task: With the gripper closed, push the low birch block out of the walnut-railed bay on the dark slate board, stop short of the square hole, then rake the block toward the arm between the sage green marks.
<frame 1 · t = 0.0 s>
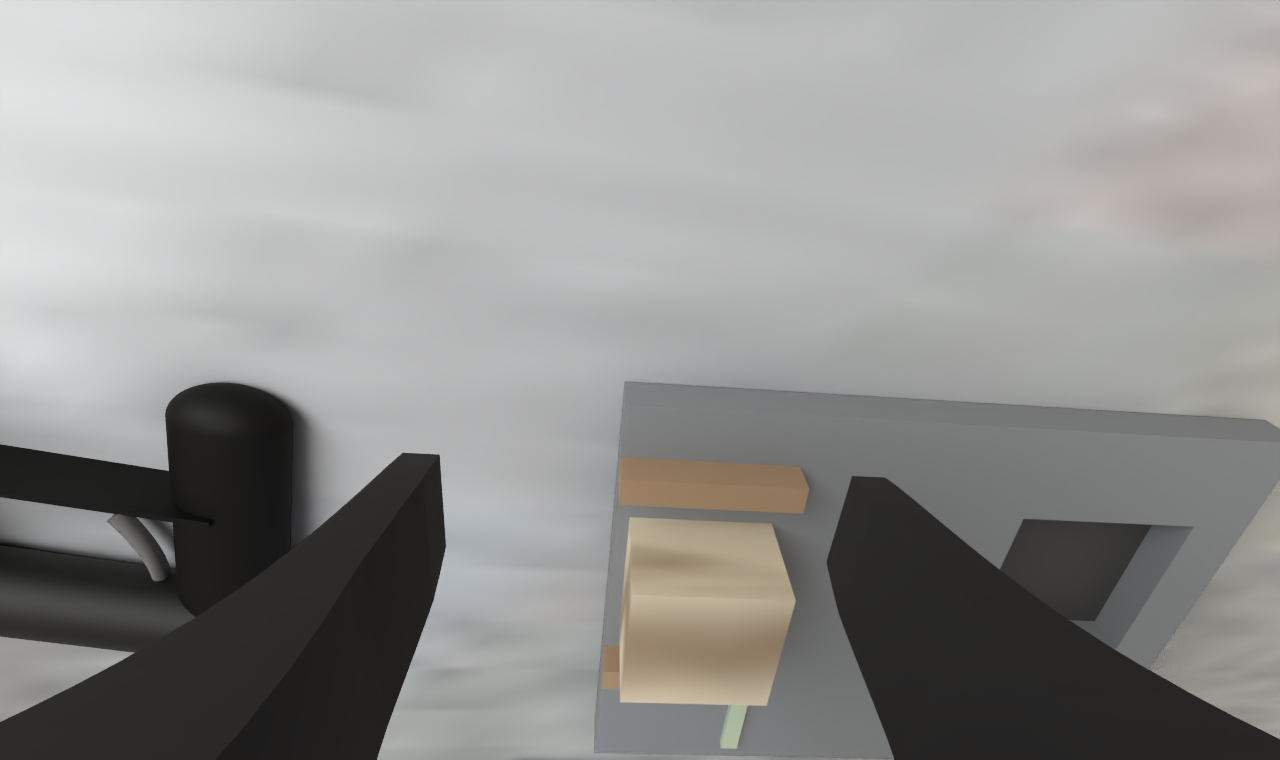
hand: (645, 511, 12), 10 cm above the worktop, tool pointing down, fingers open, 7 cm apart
birch block: (692, 573, 24), point 1 cm above the worktop, touching slate board
door handle: (13, 434, 23), on the worktop
slate board: (887, 590, 27), on the worktop
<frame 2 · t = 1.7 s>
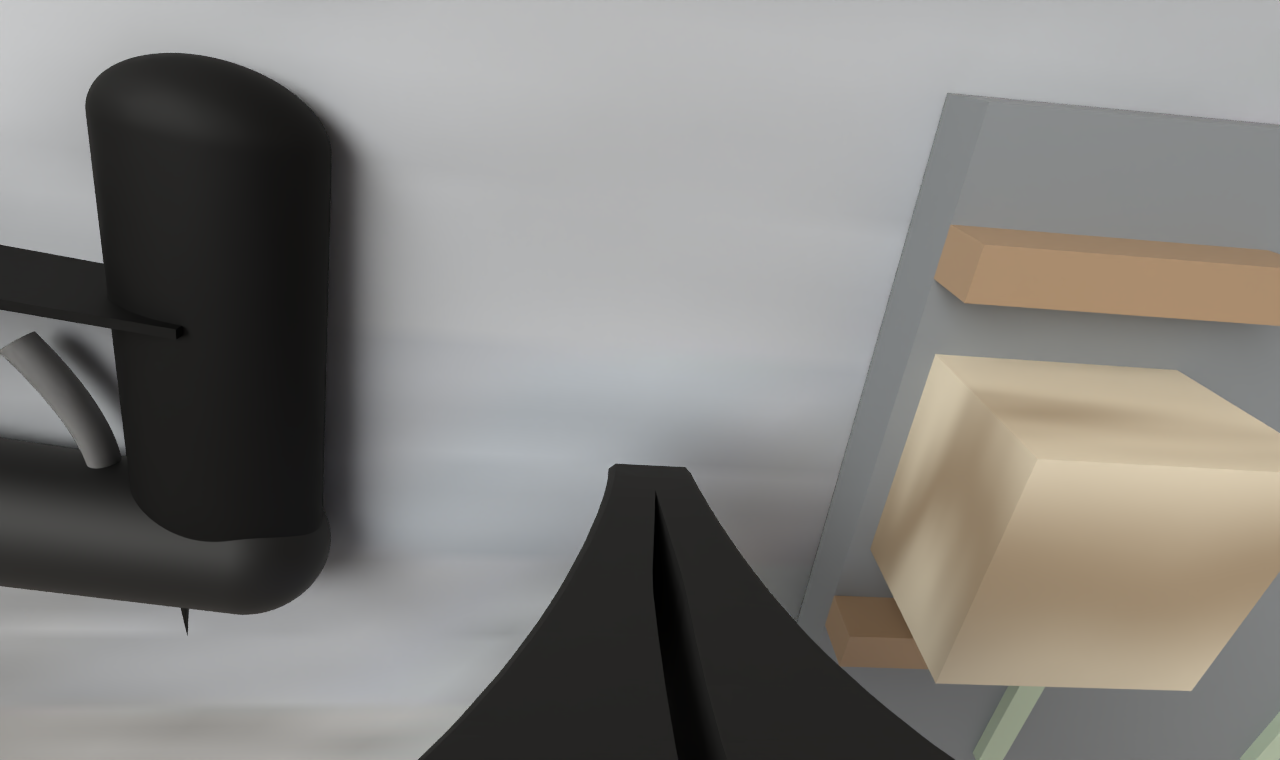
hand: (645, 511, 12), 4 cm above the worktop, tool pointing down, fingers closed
birch block: (1012, 465, 14), point 1 cm above the worktop, touching slate board
slate board: (1268, 511, 17), on the worktop
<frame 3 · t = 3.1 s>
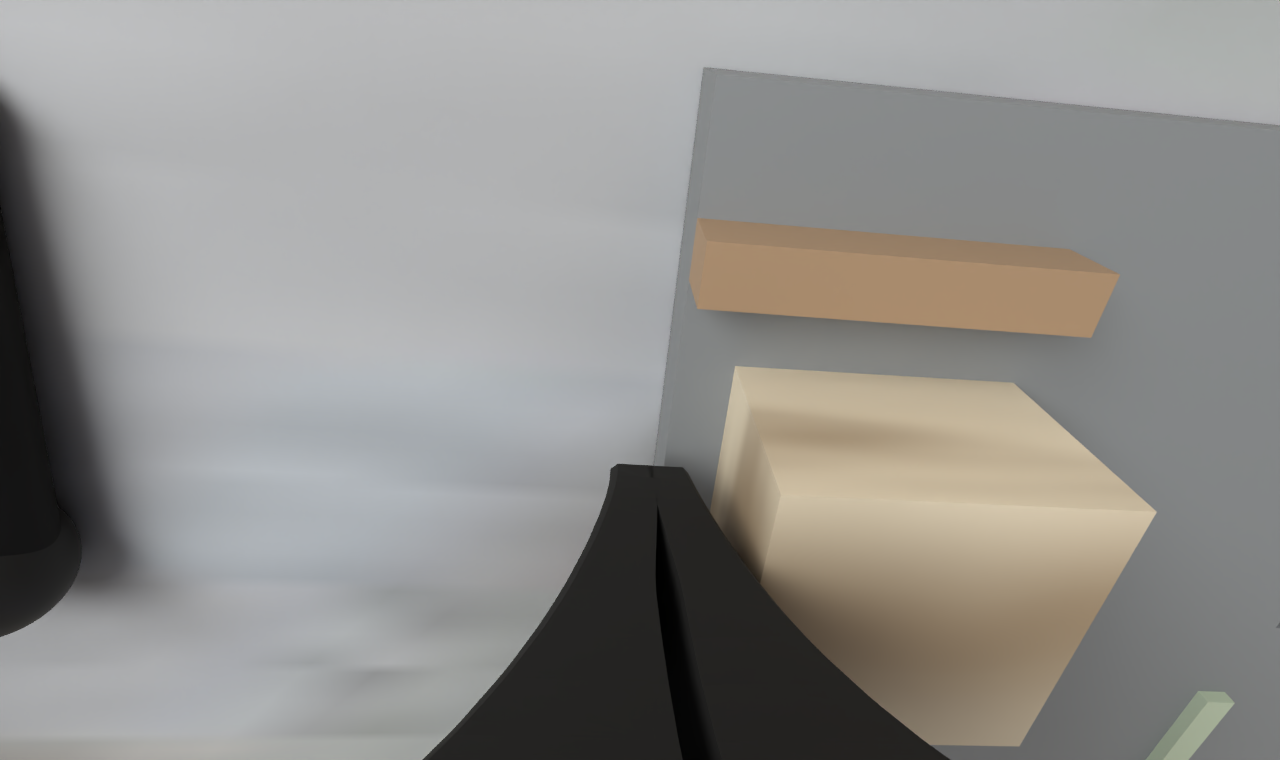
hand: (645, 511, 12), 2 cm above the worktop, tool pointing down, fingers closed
birch block: (843, 488, 13), point 2 cm above the worktop, touching gripper, slate board
slate board: (1131, 535, 16), on the worktop
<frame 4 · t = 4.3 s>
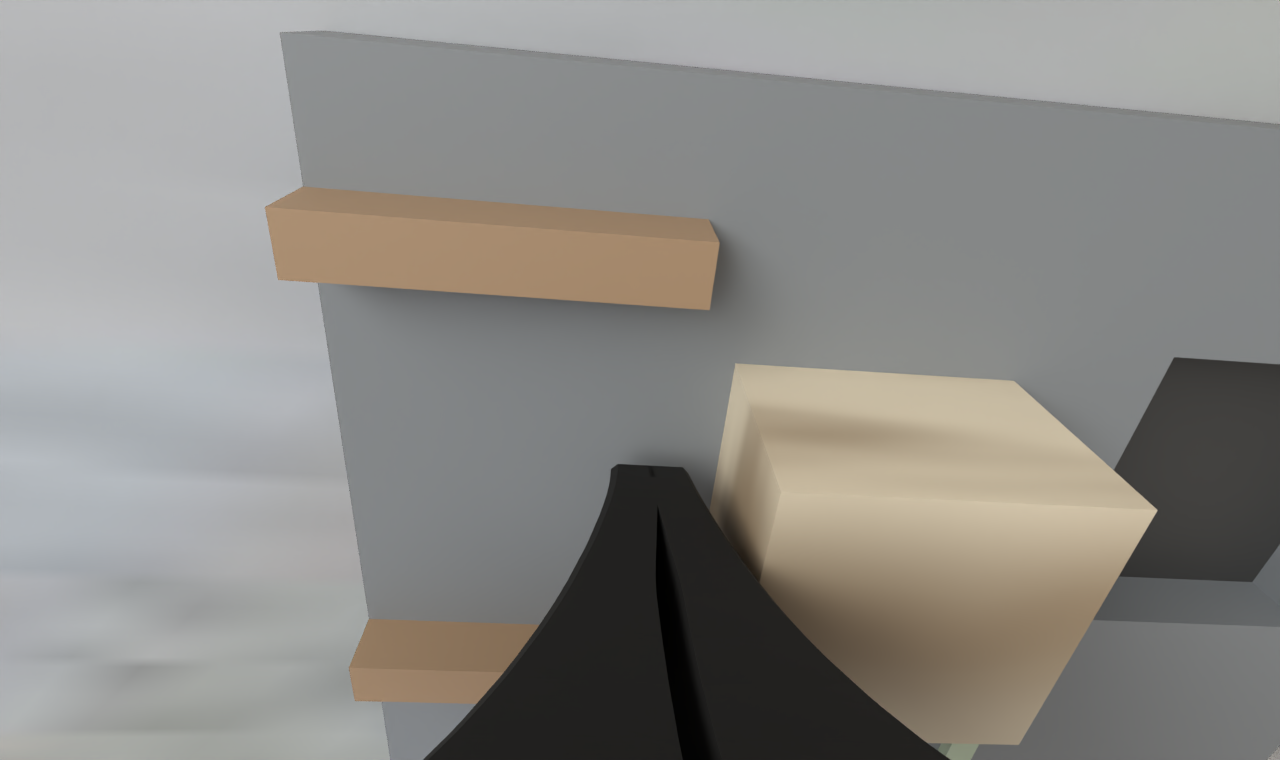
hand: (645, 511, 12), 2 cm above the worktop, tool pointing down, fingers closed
birch block: (843, 486, 13), point 2 cm above the worktop, touching gripper
slate board: (894, 523, 15), on the worktop
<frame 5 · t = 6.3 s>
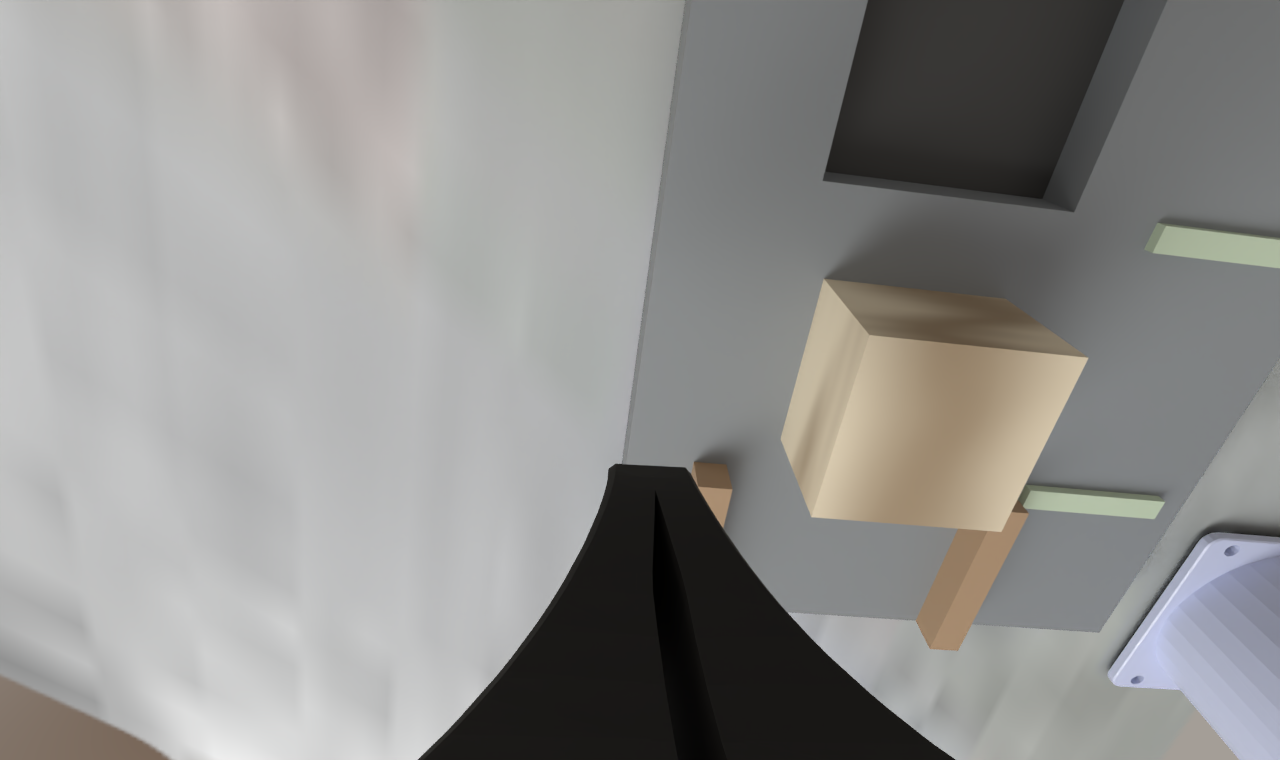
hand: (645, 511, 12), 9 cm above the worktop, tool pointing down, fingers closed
birch block: (887, 372, 18), point 1 cm above the worktop, touching slate board
slate board: (957, 296, 19), on the worktop
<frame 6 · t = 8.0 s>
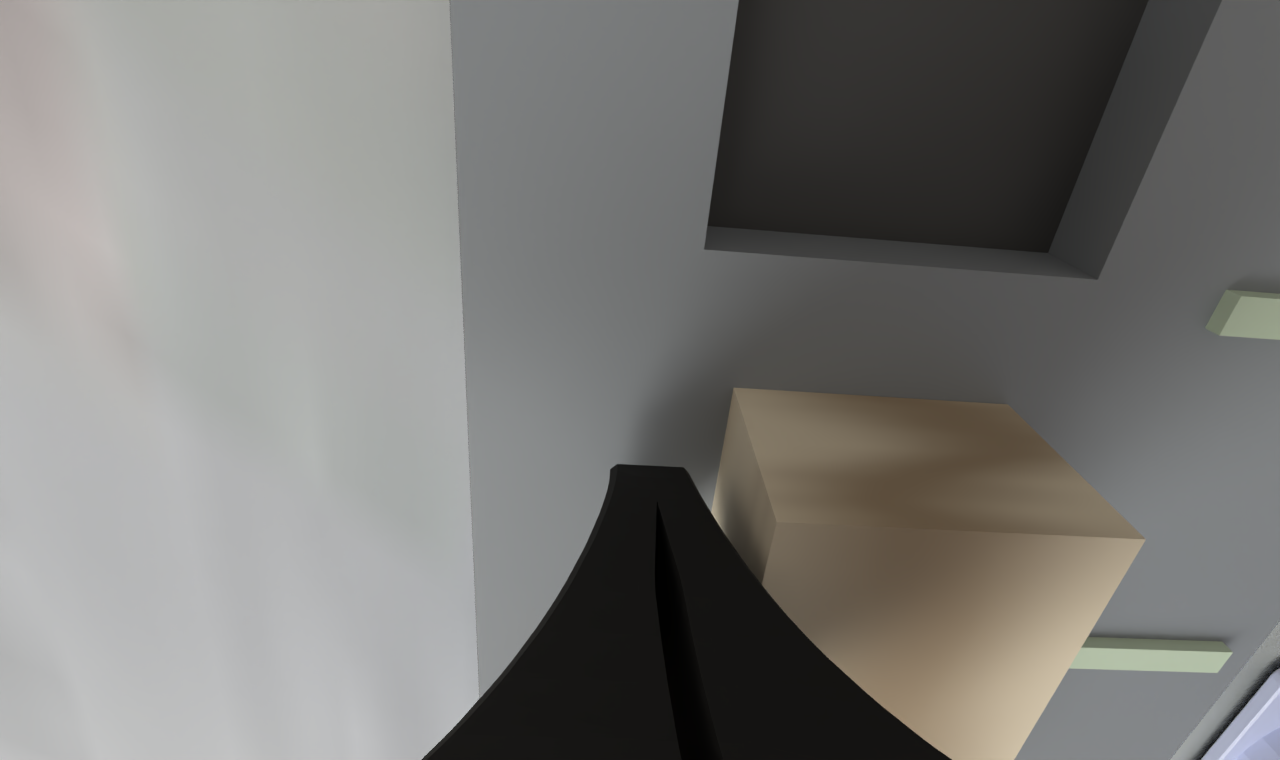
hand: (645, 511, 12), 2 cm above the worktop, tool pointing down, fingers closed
birch block: (839, 506, 13), point 2 cm above the worktop, touching gripper
slate board: (930, 389, 13), on the worktop
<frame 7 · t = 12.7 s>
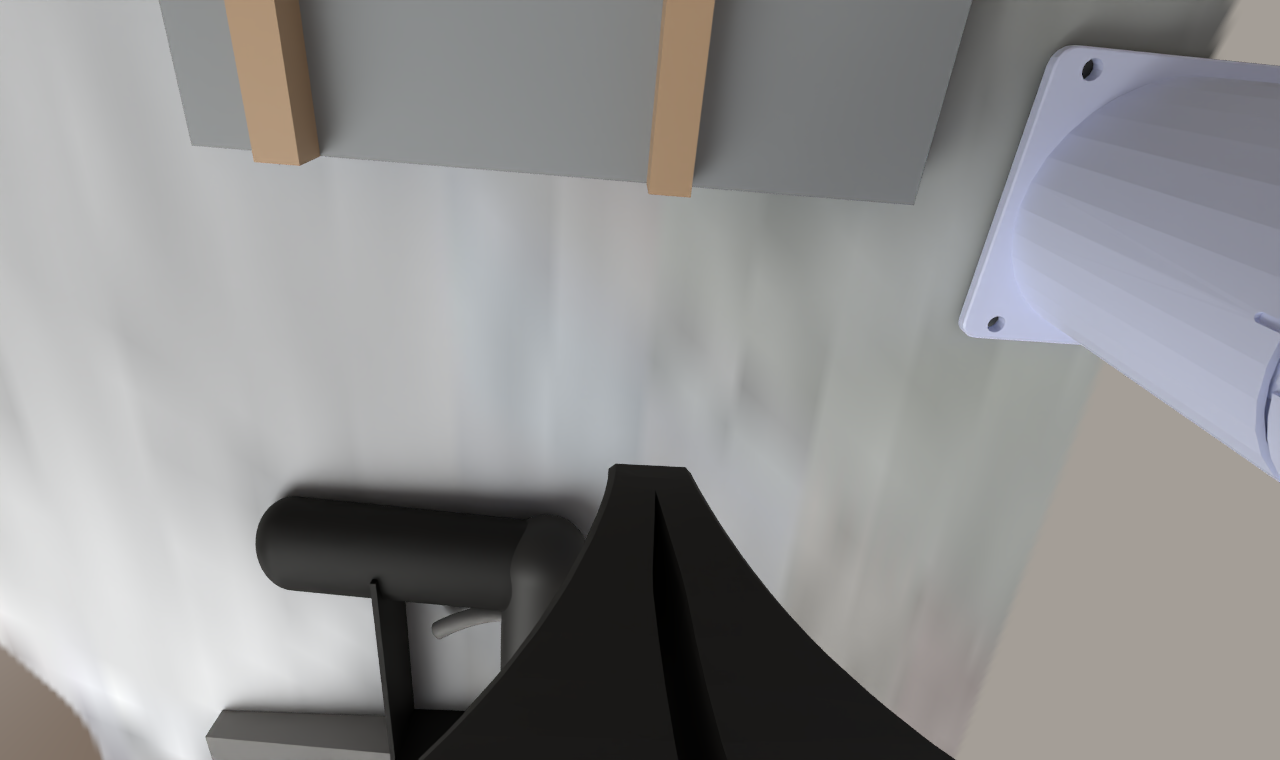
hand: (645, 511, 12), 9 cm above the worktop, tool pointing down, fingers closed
door handle: (413, 666, 28), on the worktop
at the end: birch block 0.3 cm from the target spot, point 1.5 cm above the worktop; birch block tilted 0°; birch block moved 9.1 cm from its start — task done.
